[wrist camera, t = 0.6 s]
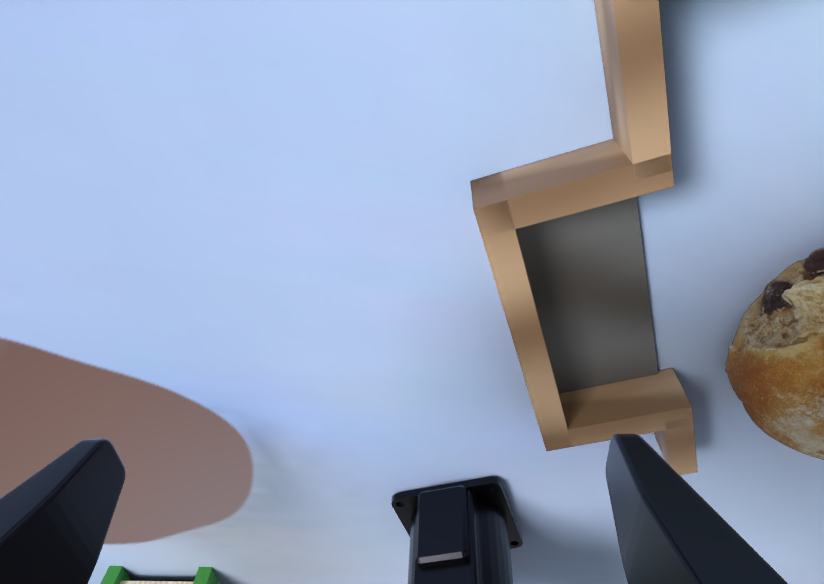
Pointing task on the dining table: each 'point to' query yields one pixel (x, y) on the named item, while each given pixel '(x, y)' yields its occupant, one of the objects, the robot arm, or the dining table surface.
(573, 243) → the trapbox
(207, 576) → the hardback book
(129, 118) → the dining table surface
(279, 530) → the dining table surface
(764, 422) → the bread roll
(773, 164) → the dining table surface
